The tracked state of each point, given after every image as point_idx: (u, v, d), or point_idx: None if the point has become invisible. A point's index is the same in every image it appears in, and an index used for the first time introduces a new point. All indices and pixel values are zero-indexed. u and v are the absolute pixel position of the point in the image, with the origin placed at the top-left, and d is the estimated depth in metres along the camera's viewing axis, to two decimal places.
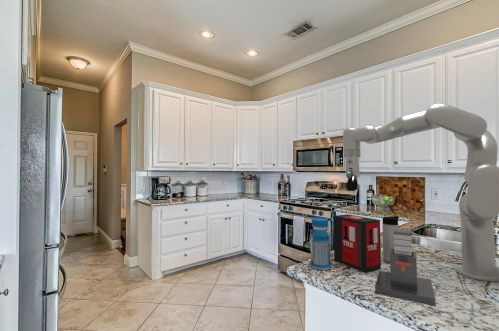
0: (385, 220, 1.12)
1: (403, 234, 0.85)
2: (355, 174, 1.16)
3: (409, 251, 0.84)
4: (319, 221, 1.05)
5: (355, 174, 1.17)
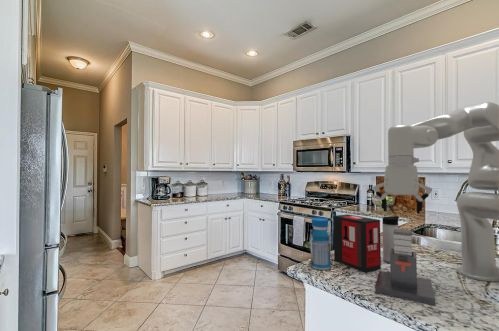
0: (385, 220, 1.12)
1: (403, 234, 0.85)
2: None
3: (409, 251, 0.84)
4: (319, 221, 1.05)
5: None
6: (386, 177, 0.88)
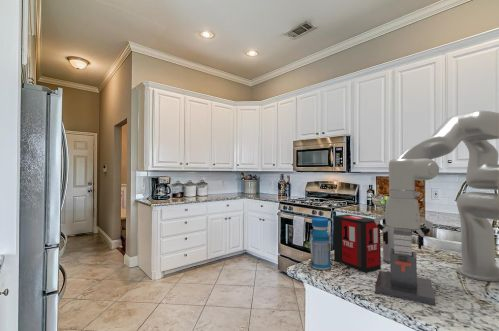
0: None
1: (403, 234, 0.85)
2: None
3: (409, 251, 0.84)
4: (319, 221, 1.05)
5: None
6: (387, 210, 0.88)
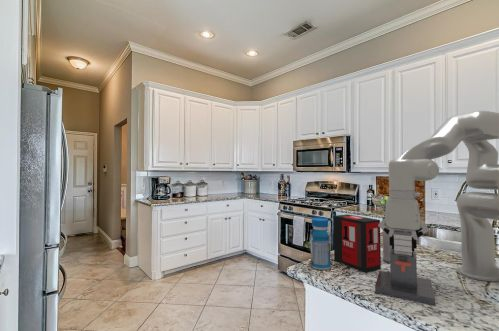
0: None
1: (403, 234, 0.85)
2: None
3: (409, 251, 0.84)
4: (319, 221, 1.05)
5: None
6: (387, 211, 0.88)
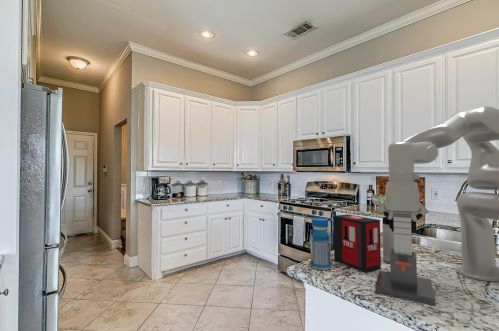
0: (385, 220, 1.12)
1: (403, 216, 0.85)
2: None
3: (409, 233, 0.84)
4: (319, 221, 1.05)
5: None
6: (387, 194, 0.88)
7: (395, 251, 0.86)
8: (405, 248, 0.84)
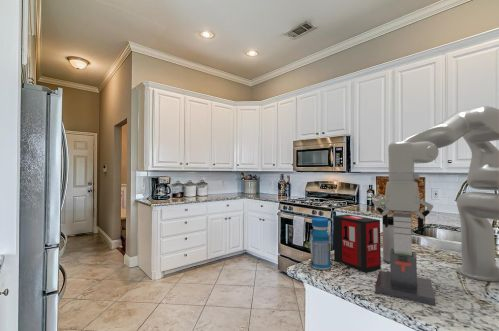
0: None
1: (403, 216, 0.85)
2: None
3: (409, 233, 0.84)
4: (319, 221, 1.05)
5: None
6: (387, 193, 0.88)
7: (395, 251, 0.86)
8: (405, 248, 0.84)
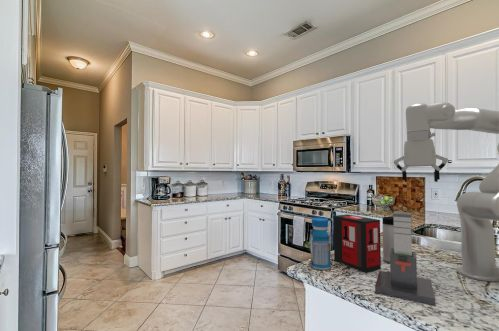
0: (385, 220, 1.12)
1: (403, 216, 0.85)
2: None
3: (409, 233, 0.84)
4: (319, 221, 1.05)
5: None
6: (406, 151, 0.98)
7: (395, 251, 0.86)
8: (405, 248, 0.84)
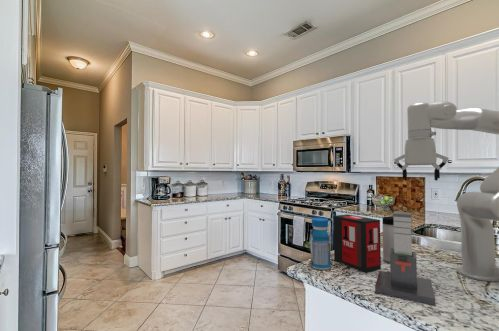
0: (385, 220, 1.12)
1: (403, 216, 0.85)
2: None
3: (409, 233, 0.84)
4: (319, 221, 1.05)
5: None
6: (406, 150, 0.99)
7: (395, 251, 0.86)
8: (405, 248, 0.84)
